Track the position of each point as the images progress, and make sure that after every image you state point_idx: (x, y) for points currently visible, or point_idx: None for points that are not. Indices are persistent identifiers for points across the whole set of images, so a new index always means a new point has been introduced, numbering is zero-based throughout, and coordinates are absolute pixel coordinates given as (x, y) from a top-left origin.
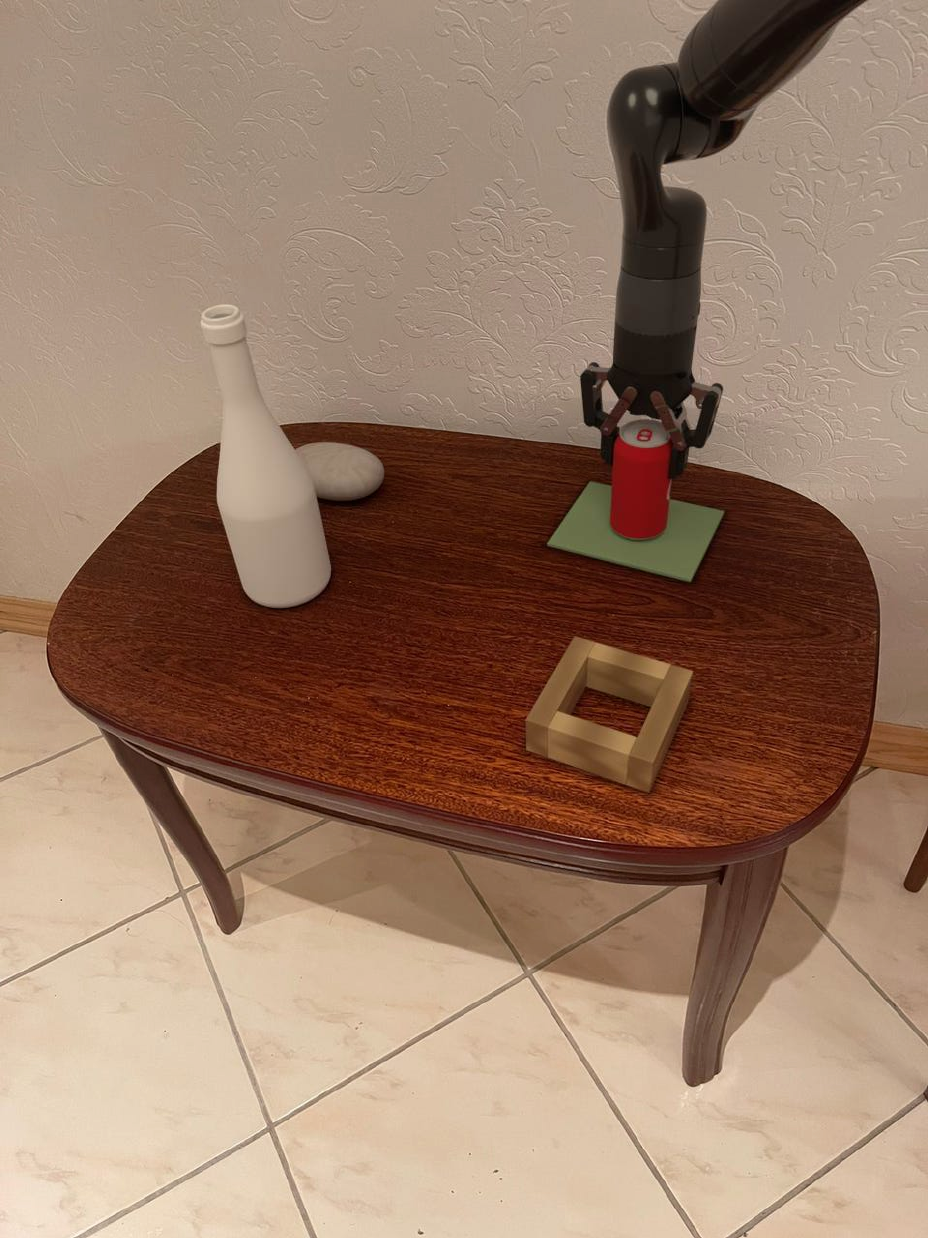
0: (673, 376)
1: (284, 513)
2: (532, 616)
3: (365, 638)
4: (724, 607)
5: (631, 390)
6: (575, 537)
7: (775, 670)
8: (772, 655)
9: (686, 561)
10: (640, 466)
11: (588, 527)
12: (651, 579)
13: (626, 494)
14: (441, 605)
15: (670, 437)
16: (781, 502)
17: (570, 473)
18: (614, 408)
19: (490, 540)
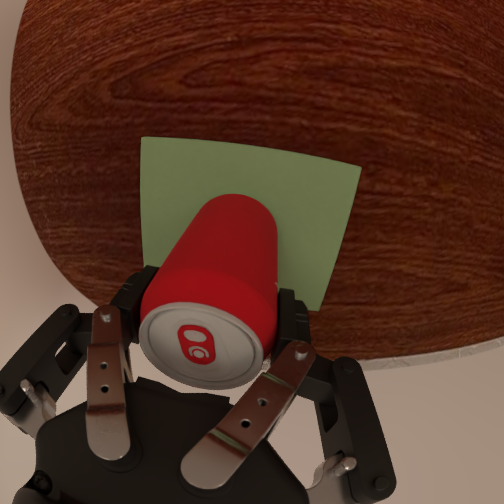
0: (61, 485)
1: None
2: (340, 16)
3: (486, 4)
4: (101, 108)
5: (202, 476)
6: (322, 188)
7: (56, 48)
8: (58, 64)
9: (154, 172)
10: (195, 261)
11: (307, 215)
12: (192, 125)
13: (238, 228)
14: (450, 39)
15: (139, 340)
16: (108, 304)
17: (343, 321)
18: (275, 411)
19: (432, 169)
